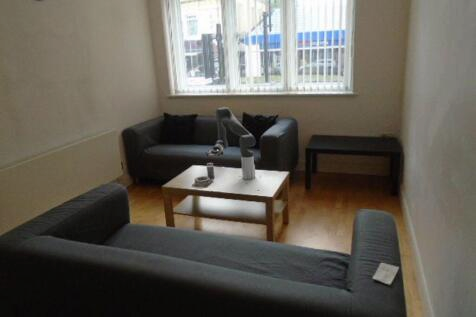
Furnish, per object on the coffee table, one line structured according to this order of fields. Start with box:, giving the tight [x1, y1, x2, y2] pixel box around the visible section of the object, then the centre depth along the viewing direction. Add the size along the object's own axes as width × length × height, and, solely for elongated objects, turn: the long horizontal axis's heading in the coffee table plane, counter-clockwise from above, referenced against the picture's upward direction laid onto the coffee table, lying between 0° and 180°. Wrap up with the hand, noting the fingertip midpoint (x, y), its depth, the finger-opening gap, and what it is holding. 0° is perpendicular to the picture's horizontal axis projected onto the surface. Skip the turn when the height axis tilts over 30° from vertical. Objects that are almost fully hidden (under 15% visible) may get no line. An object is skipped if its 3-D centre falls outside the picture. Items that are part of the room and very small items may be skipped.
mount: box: [191, 175, 214, 188], centre depth 279 cm, size 12×12×4 cm
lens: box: [206, 162, 215, 180], centre depth 289 cm, size 5×5×12 cm
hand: (212, 155), depth 297 cm, fingers open, 8 cm apart
